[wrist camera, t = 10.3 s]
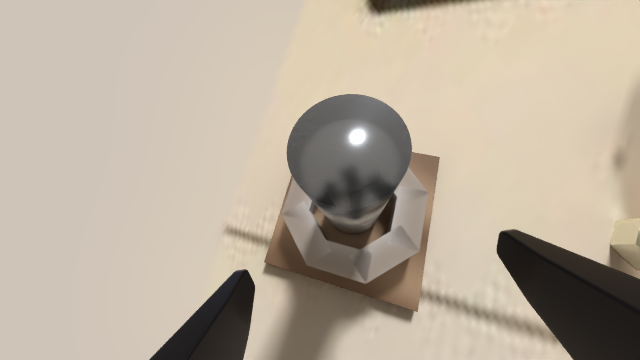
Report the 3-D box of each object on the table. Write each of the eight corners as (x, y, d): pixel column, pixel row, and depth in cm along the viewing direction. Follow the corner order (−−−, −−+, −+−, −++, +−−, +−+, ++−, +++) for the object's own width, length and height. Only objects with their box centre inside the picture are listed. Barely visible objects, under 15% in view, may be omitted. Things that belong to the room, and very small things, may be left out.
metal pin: (388, 207, 18) (439, 137, 7) (355, 245, 18) (353, 236, 6) (350, 177, 19) (340, 75, 8) (319, 212, 19) (263, 154, 8)
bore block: (414, 309, 16) (426, 320, 14) (267, 261, 19) (252, 263, 16) (436, 160, 20) (449, 145, 17) (306, 137, 22) (299, 120, 19)
